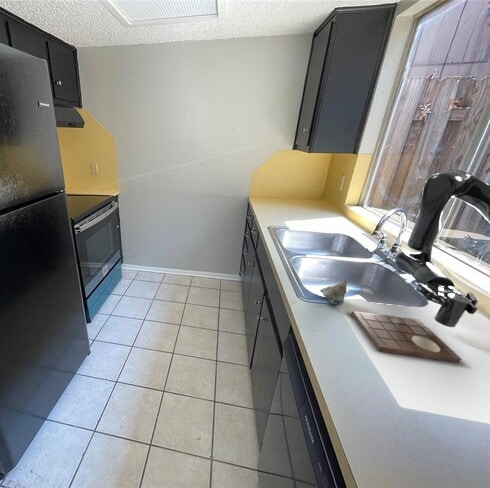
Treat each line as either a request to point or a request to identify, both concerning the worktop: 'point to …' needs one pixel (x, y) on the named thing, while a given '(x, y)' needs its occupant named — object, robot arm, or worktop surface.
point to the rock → (335, 293)
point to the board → (403, 336)
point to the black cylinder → (452, 310)
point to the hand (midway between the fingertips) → (460, 308)
